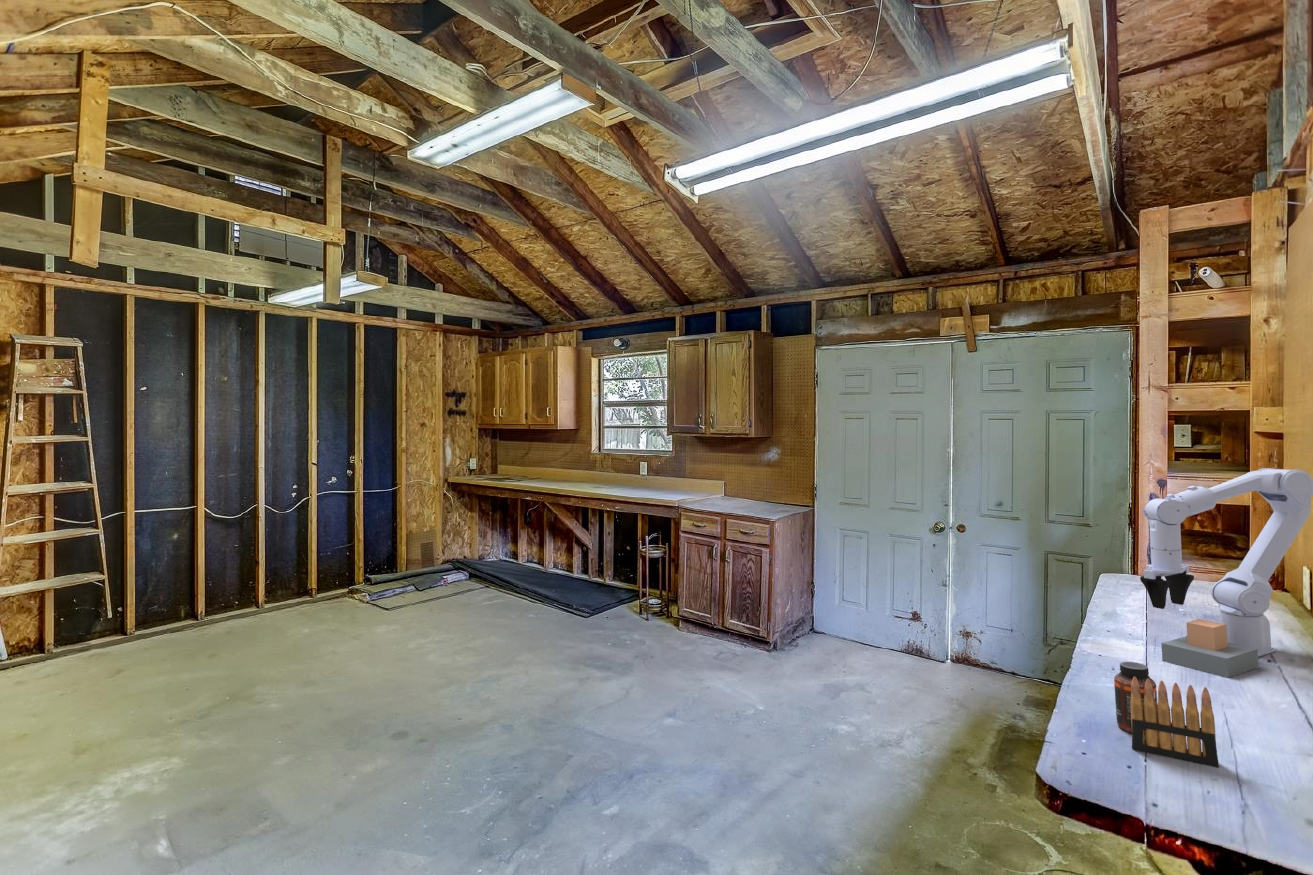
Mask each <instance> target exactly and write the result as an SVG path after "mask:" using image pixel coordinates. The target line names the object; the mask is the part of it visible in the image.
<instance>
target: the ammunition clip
mask: <svg viewBox="0 0 1313 875" xmlns="http://www.w3.org/2000/svg"><path fill="white" fill-rule="evenodd" d="M1158 684H1159V685H1158V689H1157V710H1156V704H1155V699H1154V692H1153V687H1152V684H1151V681H1150V680H1149V679H1147V680H1146V683H1145V690H1144V691H1145V695H1144V716H1143V704H1142V700H1141V694H1140V687H1139V683H1138V680H1137V678H1136V677H1135V676H1134V677H1133V680H1132V684H1131V701H1130V705H1131V723H1132V733H1131V749H1132V750H1133V751H1135V752H1142V753H1146V754H1151V755H1156V756H1160V757H1165V758H1169V759H1174V760H1179V761H1183V762H1184V761H1185V762H1189V763H1193V764H1198V765H1204V766H1208V767H1212V768H1216V769H1219V767H1220V764H1219V756H1218V749H1217V737H1216V725H1215V723H1216V722H1215V715H1214V712H1213V706H1212V699H1211V695H1210V692H1209V691H1210V690H1208V688H1207V686H1204V688H1203V689H1202V692H1201V698H1200V699H1201V700H1200V701H1201V704H1200V707H1201V708H1200V709H1201V710H1200V713H1199V710H1198V704H1197V696H1196V693H1195V689H1194V688H1193V685H1191V684H1189V685H1188V687H1187V690H1186V708H1185V710H1184V707H1183V706H1184V705H1183V700H1182V692H1181V689H1180V686H1179V685H1178V683H1177V682H1174V684H1173V686H1172V690H1171V707H1170V704H1169V699H1168V697H1169V696H1168V691H1167V688H1166V684H1165V683H1164V681H1163V680H1160V682H1159V683H1158ZM1157 713H1158V720H1157ZM1144 729H1145V730H1144ZM1158 731H1159V732H1158Z"/></svg>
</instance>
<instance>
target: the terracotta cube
mask: <svg viewBox="0 0 1313 875" xmlns="http://www.w3.org/2000/svg"><path fill="white" fill-rule="evenodd" d="M1186 636H1187V639H1188V645H1192V646H1196V647H1201V648H1205V649H1209V650H1214V651H1216V650H1220V649H1223V648H1226V647H1228V642H1227V626H1226V624H1222V623H1220V622H1216V621H1212V620H1208V619H1207V620H1206V619H1200V618H1198V619H1194V620H1191V621H1187V622H1186Z"/></svg>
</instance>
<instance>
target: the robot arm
mask: <svg viewBox="0 0 1313 875" xmlns="http://www.w3.org/2000/svg"><path fill="white" fill-rule="evenodd" d="M1186 489H1187V490H1184V491H1181V492H1178V493H1175V494H1174V493H1169V494H1166V497H1165V498H1153V499H1151V500H1149V501H1148V503H1146V505H1145V508H1143V509H1142V513H1143V515H1144V517H1145V518H1146V519H1147V520H1148V524H1149V540H1150V541H1149V542H1150V543H1149V544H1150V560H1151V562H1150V564H1146V569H1143V575H1142V576H1139V579H1140V582H1141V583H1142V585H1143V586H1144V588H1145V589H1146V591H1147V593H1148V596H1149V599H1150V602H1151V605H1152V607H1153V608H1155V609H1161V610H1164V609H1165V608H1166V602H1167V594H1168V590H1169V597H1170V601H1171V603H1172V604H1173V605H1174V604H1175V605H1180V606H1183V605H1184V604H1185V600H1186V596H1187V592H1188V590H1189V588H1190V585H1191V584H1192V582H1193V581H1194V580H1195V575H1193V574H1190V565H1189V564H1183V555H1182V554H1183V553H1182V534H1181V532H1182V531H1181V524H1182V523H1183V522H1185V520H1186V518H1189V517H1191V516H1194V515H1198V514H1200V513H1204V512H1206V511H1210V510H1212V509H1215V507H1216V505H1217V502H1219V501H1223V500H1226V499H1230V498H1234V497H1237V496H1240V495H1244V494H1248V493H1252V492H1257V493H1258V494H1259V495H1260V496H1261V497H1262V498H1263V499H1264V500H1265V501H1266V502H1267V503H1268V504H1269V505H1270V507H1271V509H1272V510H1273V512H1272V514H1271V516H1270V518H1269V519H1268V520H1267V522H1266V524H1265V525H1264V527H1263V528H1262V529H1261V531H1260V533H1259V535H1258V536H1257V537H1256V540H1255V541H1254V542H1253V544H1252V545H1251V547H1250V549H1249V550H1248V552H1247V553H1246V555H1245V556H1244V558H1243V559H1242V561H1241V563H1240V564H1239V566H1238V568H1236V569H1233V570H1231V571H1228V572H1226V573H1225V574H1224V576H1223V577H1222V578H1221V579H1220V580H1218V581H1216V582H1215V583H1213V585H1212V587H1211V591H1210V594H1211V597H1212V599H1213V600H1214V601H1215V602H1216V603H1217V604H1218V609H1219V619H1220V620H1219V623H1222V624H1226V626H1227V642H1228V643H1232V644H1237V645H1241V646H1246V647H1251V648H1255V649H1258V658H1259V657H1262V656H1265V655H1267V654H1270V653H1271V654H1272V653H1274V652H1276V651H1278V649H1277V648H1275V647H1272V638H1271V636H1272V635H1271V624H1270V621H1269V619H1268V617H1267V616H1266V615H1265V614H1264V613H1266V612H1267V611H1268V609H1269V607H1270V605H1271V604H1270V602H1271V601H1270V598H1271V596H1272V594H1273V592H1274V589H1273V587H1272V586H1271V584H1270V582H1269V580H1270V579H1271V577H1272V575H1273V574H1274V572H1275V570H1276V569H1277V567H1278V566H1279V564H1280V563H1281V561H1282V559H1283V558H1284V557H1285V555H1286V553H1287V552H1288V550H1289V548H1290V547H1291V545H1292V544H1293V543H1294V541H1295V540H1296V538H1297V536H1298V535H1299V533H1300V531H1301V530H1302V528H1303V527H1304V525H1305V523H1306V522H1307V520H1308V519H1309V518H1310V515H1311V509H1312V498H1313V477H1312V475H1310V474H1309V472H1307V471H1306V470H1302V469H1296V468H1295V469H1285V468H1283V469H1281V468H1270V467H1264V468H1263V467H1262V468H1260V469H1257V470H1252V471H1249V472H1247V473H1245V474H1243V475H1240V476H1238V477H1235V478H1231V479H1230V480H1227V481H1224V482H1221V483H1219V484H1216V485H1214V486H1211V487H1209V488H1207V487H1204V486H1201V485H1200V486H1196V485H1190V486H1187V487H1186ZM1162 577H1164V579H1163V578H1162Z"/></svg>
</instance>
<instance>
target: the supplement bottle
mask: <svg viewBox="0 0 1313 875" xmlns="http://www.w3.org/2000/svg"><path fill="white" fill-rule="evenodd" d="M1149 674H1150V673H1149V667H1148V666H1147V665H1145V664H1143V663H1140V662H1136V661H1135V662H1133V661H1122V662H1120V663H1119V673H1117V674H1115V676H1114V678H1113V683H1114V698H1115V701H1114V704H1115V716H1116V724H1117V725H1118V727H1119V728H1120V729H1122V730H1124V731H1126V732H1128V733H1130V734H1132V723H1131V705H1130V701H1131V684H1132V680H1133V677H1134V676H1135V677H1136V678H1137V680H1138V683H1139V687H1140V694H1141V700H1142V704H1143V716H1144V695H1145V691H1144V690H1145V683H1146V680H1147V679H1149V680H1150V681H1151V684H1152V687H1153V692H1154V699H1155V704H1156V710H1157V705H1158V689H1157V684H1156V682H1155V680H1154V679H1153V678H1151V677H1150V675H1149ZM1157 720H1158V713H1157ZM1144 730H1145V729H1144ZM1158 733H1159V731H1158Z"/></svg>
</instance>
